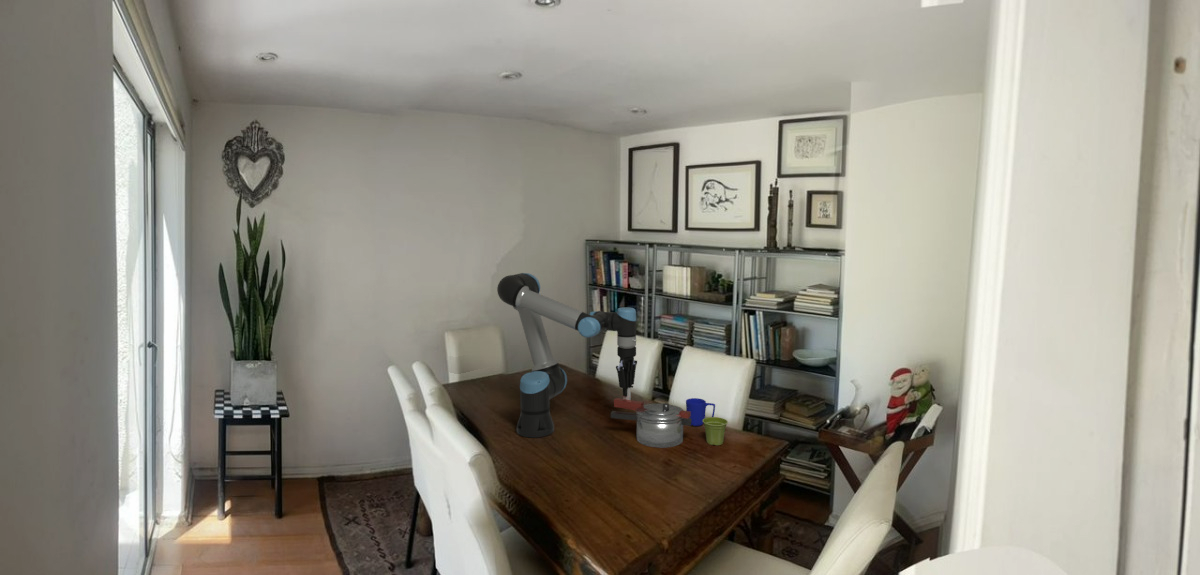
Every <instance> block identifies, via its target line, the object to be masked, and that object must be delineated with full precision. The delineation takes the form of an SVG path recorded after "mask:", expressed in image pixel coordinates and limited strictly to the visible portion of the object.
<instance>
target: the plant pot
mask: <svg viewBox="0 0 1200 575" xmlns="http://www.w3.org/2000/svg"><path fill="white" fill-rule="evenodd" d="M728 423H729V422H728V420H727V419H725V418H723V417H718V416H717V417H716V416H714V417H712V416H708V417H705V418H704V419H703V426H704V430H705V440H706V443H707V444H708V445H710V446H713V445H715V446H720V445H723V444H724V441H725V440H724V439H725V432H726V428H727V425H728Z"/></svg>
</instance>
